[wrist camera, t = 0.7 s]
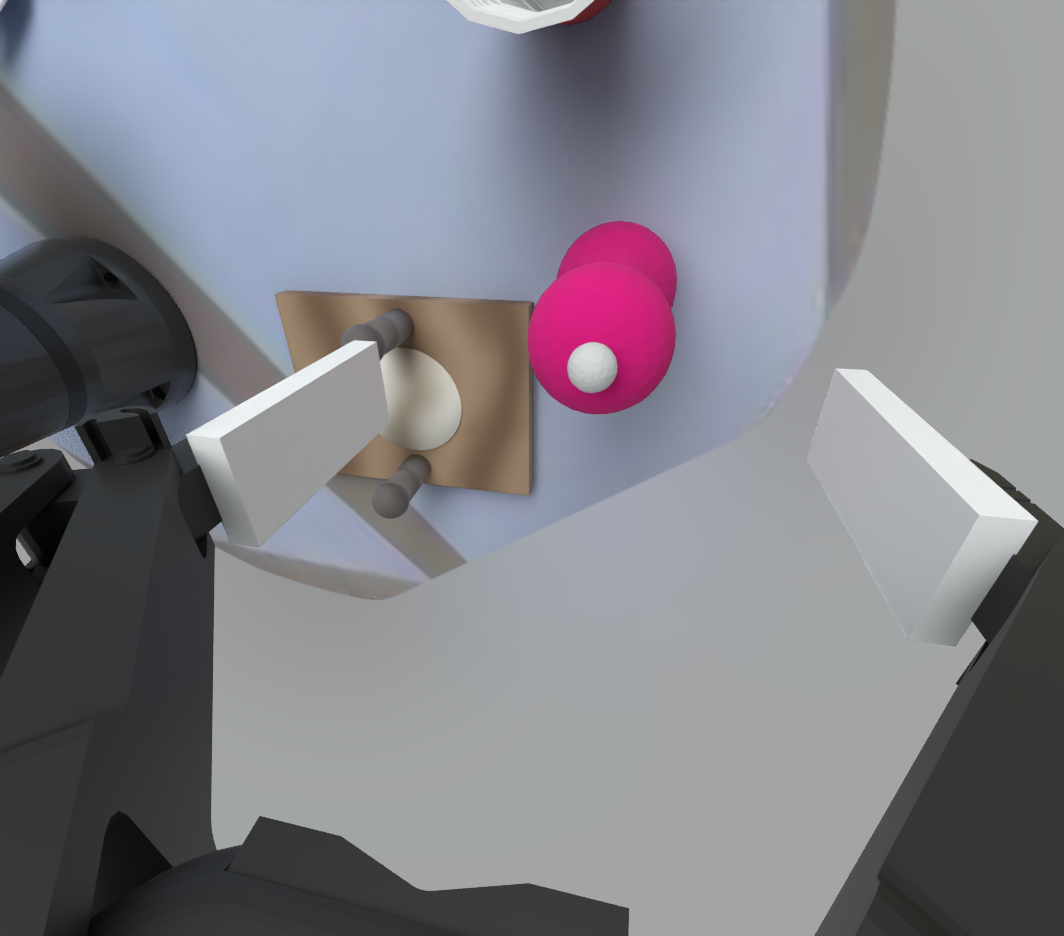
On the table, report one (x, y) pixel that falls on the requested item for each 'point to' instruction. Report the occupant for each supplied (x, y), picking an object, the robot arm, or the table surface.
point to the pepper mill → (606, 320)
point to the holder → (431, 386)
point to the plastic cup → (528, 12)
